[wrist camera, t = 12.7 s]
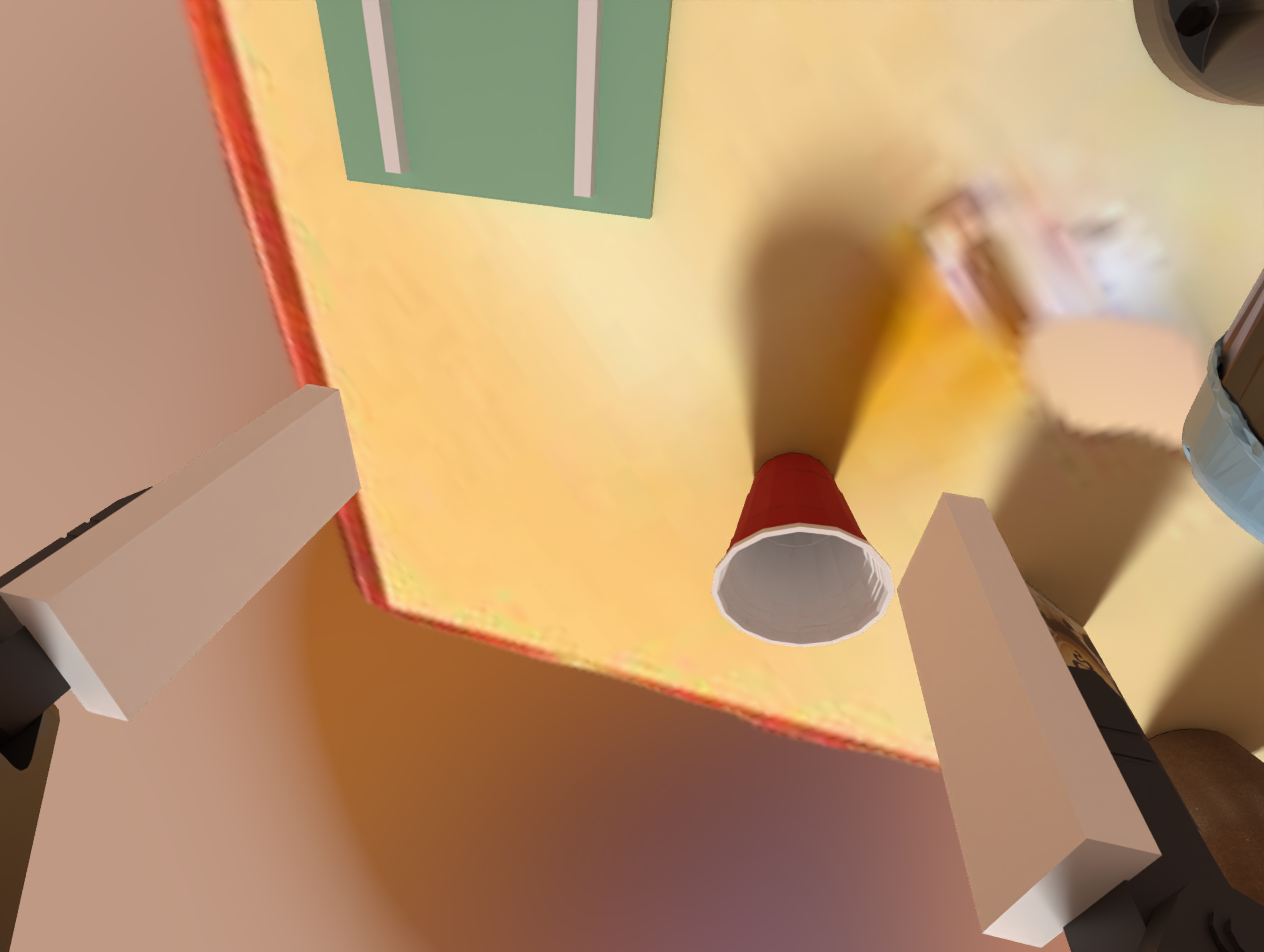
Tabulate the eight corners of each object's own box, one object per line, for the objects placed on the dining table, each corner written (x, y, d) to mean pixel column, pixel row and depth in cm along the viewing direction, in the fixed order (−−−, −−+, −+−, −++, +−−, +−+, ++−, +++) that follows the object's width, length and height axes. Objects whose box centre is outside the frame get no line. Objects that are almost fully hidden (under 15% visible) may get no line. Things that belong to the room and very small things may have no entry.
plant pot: (1176, 677, 49) (1323, 895, 36) (1344, 737, 49) (1552, 976, 36) (1052, 764, 58) (1134, 965, 45) (1195, 815, 58) (1319, 1030, 45)
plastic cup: (759, 555, 50) (756, 671, 41) (698, 457, 46) (679, 560, 36) (889, 515, 46) (922, 634, 36) (836, 401, 41) (856, 501, 32)
